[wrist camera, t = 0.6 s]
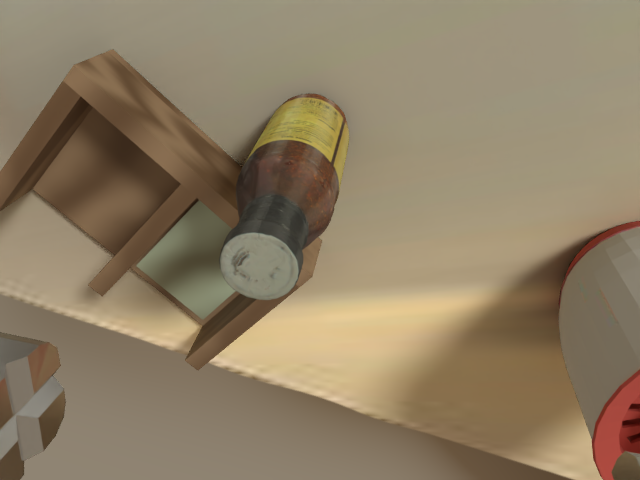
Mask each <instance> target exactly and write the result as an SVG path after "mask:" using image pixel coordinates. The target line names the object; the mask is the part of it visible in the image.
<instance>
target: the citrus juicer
mask: <svg viewBox="0 0 640 480" xmlns="http://www.w3.org/2000/svg"><path fill="white" fill-rule="evenodd" d="M559 309H560V310H559V331H560V341H561V349H562V353H563V357H564V361H565V365H566V368H567V371H568V374H569V377H570V380H571V382H572V385H573V388H574V391H575V394H576V396H577V399H578V402H579V405H580V408H581V410H582V413H583V416H584V419H585V422H586V424H587V427H588V430H589V433H590V436H591V439H592V449H593V459H594V462H595V464H596V466H597V469H598V471H599V474H600V476H601V477H602V478H603V480H614V478H613V476H612V473H611V472H612V469H613V467H614V465H615V463H616V460H617V458H618V457H619V456H620V455H621V454H622V453H624V452H625V451H627V452H633V453H638V454H640V221H636V222H630V223H626V224H623V225H620V226H617V227H614V228H612V229H610V230H608V231H606V232H604V233H602V234H600V235H599V236H597V237H596V238H595V239H593V240H592V241H590V242H589V243H588V244H586V246H585V247H584V248H583V249H582V250H581V251H580V252H579V253H578V254H577V255H576V257H575V258H574V260H573V261H572V263H571V264H570V266H569V268H568V271H567V273H566V276H565V278H564V281H563V284H562V287H561V291H560V298H559Z"/></svg>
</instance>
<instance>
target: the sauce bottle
mask: <svg viewBox="0 0 640 480" xmlns="http://www.w3.org/2000/svg"><path fill="white" fill-rule="evenodd" d="M348 144H349V131H348V126H347V122H346V118H345V115H344V113H343V112H342V110H341V109H340V108H339V107H338V106H337V105H336V104H335V103H334V102H333V101H330V100H329V99H327V98H325V97H323V96H320V95H318V94H304V95H298V96H295V97H292V98H290V99H288V100H287V101H286V102H285V103H283V105H282V106H280V107H279V108H278V109H277V110H276V111H275V113H274V114H273V116H272V117H271V119H270V121H269V122H268V124H267V126H266V127H265V129H264V131H263V133H262V134H261V136H260V138H259V139H258V141H257V143H256V144H255V146H254V148H253V150H252V151H251V153H250V155H249V157H248V158H247V160H246V162H245V164H244V165H243V167H242V169H241V171H240V174H239V176H238V180H237V184H236V201H237V208H238V215H239V223H238V224H237V226H236V227H235V228H233V229H232V230H231V231H230V232H229V234H228V235H227V237H226V239H225V241H224V243H223V247H222V249H221V252H220V257H219V264H220V270H221V273H222V275H223V278H224V280H225V281H226V282H227V284H228V285H229V286H230V287H231V288H232V289H233V290H235V291H237V292H238V293H240V294H242V295H244V296H246V297H249V298H253V299H258V300H272V299H277V298H279V297H282V296H284V295H285V294H287V293H288V292H289V291H290V290H291V289H292V288H293V287H294V286H295V284H296V283H297V281H298V279H299V275H300V272H301V269H302V265H303V252H302V250H303V249H305V248H306V247H307V246H308V245H310V244H311V243H312V242H313V241H314V240H315V239H316V238H317V237H318V236H320V235H321V234H322V233H323V232H324V231H325V229H326V228H327V226H328V224H329V222H330V221H331V217H332V214H333V211H334V205H335V203H336V201H337V198H338V194H339V189H340V184H341V179H342V174H343V169H344V164H345V159H346V155H347V150H348Z"/></svg>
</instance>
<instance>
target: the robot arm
mask: <svg viewBox="0 0 640 480" xmlns="http://www.w3.org/2000/svg"><path fill="white" fill-rule="evenodd" d="M60 366H61V364H60V359H59V354H58V349H57V347H55V346H53V345H52V344H50V343H49V342H44V341H40V340H35V339H30V338H26V337H21V336H16V335H11V334H7V333H2V332H0V480H20V479H21V478H22V477H23V475H24V461H25V460H27V459H29V458H31V457H33V456H35V455H37V454H39V453H41V452H43V451H44V450H45V449H46V447H47V446H48V445H49V444H50V442H51V441H52V440H53V439H54V437H55V436H56V434H57V432H58V429H59V427H60V424H61V422H62V420H63V418H64V411H65V403H66V401H65V392H64V388H63V387H62V386H61V385H60V383H59V382H58V381H57V380H56V378H55V377H54V376H53V375H54V373H55V372H56V371H57V370H58V369H59V367H60ZM611 473H612V476H613V478H614V480H640V454H638V453H633V452H627V451H625V452H624V453H622V454H621V455H620V456H619V457H618V458H617V460H616V463H615V465H614V467H613V469H612V472H611Z"/></svg>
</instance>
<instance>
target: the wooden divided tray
mask: <svg viewBox="0 0 640 480" xmlns="http://www.w3.org/2000/svg"><path fill="white" fill-rule="evenodd" d="M241 169H242V167H241V166H240V165H239V164H238V163H236V162H235V161H234V160H233V159H232V158H231V157H230V156H229V155H228V154H227V153H226V152H224V151H223V150H222V149H221V148H220V147H219V146H218V145H217V144H216V143H215V142H214V141H212V140H211V139H210V138H209V137H208V136H207V135H206V134H205V133H204V132H203V131H201V130H200V129H199V128H198V127H197V126H196V125H195V124H194V123H193V122H192V121H191V120H189V119H188V118H187V117H186V116H185V115H184V114H183V113H182V112H181V111H180V110H179V109H177V108H176V107H175V106H174V105H173V104H172V103H171V102H170V101H169V100H168V99H167V98H165V97H164V96H163V95H162V94H161V93H160V92H159V91H158V90H157V89H156V88H155V87H153V86H152V85H151V84H150V83H149V82H148V81H147V80H146V79H145V78H144V77H143V76H141V75H140V74H139V73H138V72H137V71H136V70H135V69H134V68H133V67H132V66H130V65H129V64H128V63H127V62H126V61H125V60H124V59H123V58H122V57H121V56H120V55H118V54H117V53H116V52H115V51H114V50H113V49H112V50H110V51H108V52H105V53H103V54H100V55H98V56H95V57H93V58H90V59H88V60H85V61H83V62H80V63H78V64H75V65H74V66H73V67H72V68H71V70H70V71H69V73H68V74H67V76H66V77H65V79H64V80H63V82H62V83H61V84H60V86H59V87H58V89H57V90H56V92H55V93H54V95H53V96H52V97H51V99H50V100H49V102H48V103H47V105H46V106H45V108H44V109H43V111H42V112H41V113H40V115H39V116H38V118H37V119H36V121H35V122H34V124H33V125H32V126H31V128H30V129H29V131H28V132H27V134H26V135H25V137H24V138H23V140H22V141H21V142H20V144H19V145H18V147H17V148H16V150H15V151H14V153H13V154H12V155H11V157H10V158H9V160H8V161H7V163H6V164H5V166H4V167H3V169H2V170H1V171H0V211H1V210H2V209H4V208H5V207H7V206H8V205H10V204H11V203H13V202H14V201H16V200H17V199H18V198H20V197H21V196H23V195H24V194H26V193H27V192H29V191H30V190H32V189H33V190H34V191H36V192H37V193H38V194H39V195H41V196H42V197H43V198H44V199H46V200H47V201H48V202H49V203H51V204H52V205H53V206H54V207H56V208H57V209H58V210H59V211H60V212H62V213H63V214H64V215H65V216H67V217H68V218H69V219H70V220H72V221H73V222H74V223H75V224H77V225H78V226H79V227H80V228H82V229H83V230H84V231H85V232H87V233H88V234H89V235H90V236H92V237H93V238H94V239H95V240H97V241H98V242H99V243H100V244H102V245H103V246H104V247H105V248H106V249H108V250H109V251H110V252H111V253H113V254H114V255H115V256H114V257H113V258H112V259H111V260H110V261H109V263H108V264H107V265H106V266H105V267H104V268H103V269H102V270H101V271H100V272H99V274H98V275H97V276H96V277H95V278H94V279H93V280H92V281H91V282H90V284H89V285H88V286H90V287H91V288H92V289H93V290H95V291H96V292H97V293H99V294H100V295H101V296H103V295H104V294H105V293H106V292H107V291H108V290H109V289H110V288H111V287H112V286H113V285H114V284H115V283H116V282H117V281H118V280H119V279H120V278H121V277H122V276H123V274H124V273H125V272H126V271H127V270H128V269H129V268H131V269H133V270H134V271H135V272H136V273H138V274H139V275H140V276H141V277H143V278H144V279H145V280H146V281H147V282H149V283H150V284H151V285H152V286H154V287H155V288H156V289H157V290H159V291H160V292H161V293H162V294H164V295H165V296H166V297H167V298H169V299H170V300H171V301H172V302H174V303H175V304H176V305H177V306H179V307H180V308H181V309H182V310H184V311H185V312H186V313H187V314H188V315H190V316H191V317H192V318H193V319H195V320H196V321H197V322H198V323H200V324H201V325H202V326H203V327H202V329H201V330H200V332H199V334H198V336H197V338H196V340H195V342H194V344H193V346H192V348H191V350H190V351H189V353H188V355H187V357H186V359H185V361H186V362H187V363H189V364H190V365H191V366H193V367H194V368H195V369H196V370H199V369H200V368H202V367H203V366H204V365H205V364H206V363H208V362H209V361H210V360H211V359H213V358H214V357H215V356H216V355H217V354H219V353H220V352H221V351H222V350H224V349H225V348H226V347H227V346H228V345H230V344H231V343H232V342H233V341H234V340H236V339H237V338H238V337H239V336H241V335H242V334H243V333H244V332H245V331H247V330H248V329H249V328H250V327H252V326H253V325H254V324H255V323H256V322H258V321H259V320H260V319H261V318H262V317H264V316H265V315H266V314H267V313H269V312H270V311H271V310H272V309H273V308H275V307H276V306H277V305H278V304H280V303H281V302H282V301H283V300H284V299H286V298H287V297H288V296H289V295H291V294H292V293H293V292H294V291H295V290H297V289H298V288H299V287H300V286H301V285H303V284H304V283H305V282H306V281H308V280H309V279H310V278H311V277H312V275H313V272H314V268H315V265H316V261H317V258H318V254H319V250H320V247H321V243H322V240H321V239H319V238H318V237H317V238H316V239H315V240H314V241H313V242H312V243H311V244H310V245H308V246H307V247H306V248H305V249H303V250H302V252H303V265H302V269H301V272H300V275H299V279H298V281H297V283H296V284H295V286H294V287H293V288H292V289H291V290H290V291H289V292H288V293H287V294H285V295H284V296H282V297H279V298H277V299H272V300H258V299H253V298H249V297H246V296H244V295H242V294H240V293H238V292H237V291H235V290H233V289H232V288H231V287H230V286H229V285H228V284H227V282H226V281H225V280H224V278H223V275H222V273H221V270H220V264H219V257H220V252H221V249H222V247H223V243H224V241H225V239H226V237H227V235H228V234H229V232H230V231H231V230H232V229H233V228H235V227H236V226H237V224H238V223H239V215H238V208H237V201H236V184H237V180H238V176H239V174H240V171H241Z"/></svg>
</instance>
